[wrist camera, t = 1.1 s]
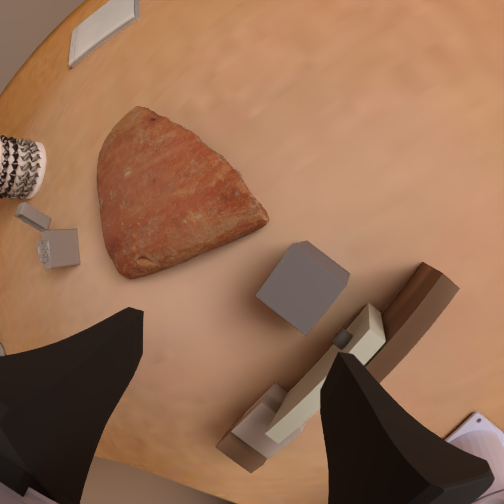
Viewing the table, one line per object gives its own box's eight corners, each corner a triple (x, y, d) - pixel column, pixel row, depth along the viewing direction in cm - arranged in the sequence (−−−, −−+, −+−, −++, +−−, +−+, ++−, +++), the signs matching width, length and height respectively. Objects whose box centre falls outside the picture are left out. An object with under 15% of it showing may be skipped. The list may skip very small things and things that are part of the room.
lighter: (80, 264, 32) (24, 272, 24) (72, 265, 32) (17, 272, 25) (76, 203, 32) (19, 201, 24) (68, 206, 32) (13, 204, 25)
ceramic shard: (194, 49, 20) (268, 230, 21) (217, 77, 26) (277, 223, 27) (57, 138, 23) (106, 293, 24) (97, 146, 29) (142, 276, 30)
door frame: (436, 273, 20) (459, 288, 14) (267, 449, 25) (245, 489, 20) (393, 237, 21) (403, 240, 15) (233, 423, 26) (204, 459, 21)
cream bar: (380, 312, 21) (385, 341, 15) (299, 400, 24) (278, 443, 18) (360, 296, 21) (358, 320, 16) (280, 386, 24) (255, 426, 18)
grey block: (350, 273, 22) (346, 285, 17) (317, 314, 23) (305, 335, 18) (307, 240, 23) (292, 243, 18) (277, 282, 24) (255, 295, 19)
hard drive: (134, -18, 26) (72, 28, 31) (134, 15, 26) (67, 66, 31) (141, -13, 28) (79, 32, 32) (142, 21, 28) (75, 69, 32)
